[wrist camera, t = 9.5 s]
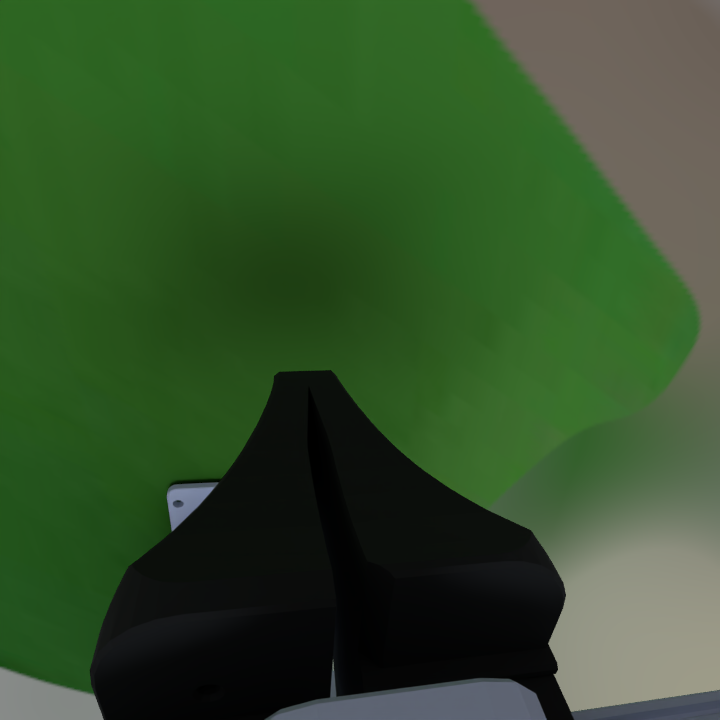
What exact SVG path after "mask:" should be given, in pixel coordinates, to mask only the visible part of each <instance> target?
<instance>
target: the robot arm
mask: <svg viewBox="0 0 720 720" xmlns="http://www.w3.org/2000/svg"><path fill="white" fill-rule="evenodd" d="M176 500H181V501H182V502H177V501H176ZM167 501H168V508H169V515H170V522H171V529H172V532H171V533H170V534H169V535H168V536H166V537H165V538H164V539H163V540H162V541H161V542H159V543H158V544H157V545H156V546H154V547H153V548H152V549H151V550H149V551H148V552H147V553H146V554H144V555H143V556H142V557H141V558H139V559H138V560H137V561H135V562H134V563H133V564H131V565H130V566H129V567H128V569H127V571H126V572H125V574H124V576H123V578H122V580H121V582H120V584H119V586H118V588H117V590H116V593H115V595H114V597H113V599H112V602H111V604H110V606H109V609H108V611H107V614H106V616H105V619H104V621H103V624H102V627H101V630H100V634H99V638H98V642H97V645H96V649H95V653H94V657H93V660H92V664H91V668H90V676H91V685H92V688H93V691H94V694H95V697H96V699H97V702H98V705H99V707H100V710H101V713H102V716H103V719H104V720H720V690H717V691H710V692H703V693H696V694H690V695H683V696H676V697H669V698H662V699H655V700H649V701H642V702H635V703H628V704H622V705H615V706H608V707H601V708H594V709H587V710H581V711H574V712H571V711H570V709H569V707H568V705H567V703H566V700H565V698H564V696H563V694H562V692H561V689H560V687H559V685H558V683H557V681H556V678H555V677H554V674H556V672H557V670H558V666H557V662H556V660H555V657H554V655H553V653H552V651H551V649H550V647H549V645H548V642H549V640H550V638H551V635H552V633H553V630H554V628H555V626H556V624H557V621H558V619H559V616H560V614H561V611H562V609H563V606H564V601H565V597H566V594H565V588H564V584H563V581H562V580H561V578H560V576H559V574H558V572H557V570H556V569H555V567H554V565H553V563H552V561H551V560H550V558H549V556H548V555H547V553H546V552H545V550H544V549H543V547H542V546H541V544H540V543H539V542H538V540H537V539H536V537H535V536H534V534H533V532H532V531H531V530H529V529H527V528H525V527H522V526H520V525H518V524H516V523H514V522H512V521H510V520H508V519H505V518H503V517H501V516H499V515H497V514H495V513H492V512H490V511H488V510H486V509H484V508H483V507H481V506H479V505H477V504H476V503H474V502H472V501H470V500H468V499H467V498H465V497H463V496H461V495H460V494H458V493H456V492H455V491H453V490H452V489H450V488H448V487H447V486H445V485H444V484H442V483H441V482H439V481H438V480H437V479H435V478H434V477H432V476H431V475H429V474H428V473H426V472H425V471H424V470H422V469H421V468H420V467H418V466H417V465H416V464H415V463H413V462H412V461H411V460H410V459H409V458H407V457H406V456H405V455H404V454H403V453H401V452H400V451H399V450H398V449H397V448H396V447H395V446H394V445H393V444H392V443H391V442H390V441H389V440H388V439H387V438H386V437H385V436H384V435H383V434H382V433H381V432H380V431H379V430H378V429H377V428H376V427H375V426H374V424H373V423H372V422H371V421H370V420H369V419H368V418H367V416H366V415H365V414H364V413H363V412H362V410H361V409H360V408H359V407H358V406H357V404H356V403H355V402H354V401H353V399H352V398H351V397H350V395H349V394H348V393H347V391H346V390H345V388H344V387H343V385H342V384H341V383H340V381H339V380H338V378H337V376H336V375H335V374H334V373H333V372H332V371H331V370H326V371H292V372H278V373H277V374H276V375H275V376H274V383H273V387H272V391H271V394H270V397H269V399H268V402H267V404H266V407H265V409H264V411H263V413H262V415H261V418H260V420H259V422H258V424H257V426H256V428H255V429H254V431H253V433H252V435H251V436H250V438H249V440H248V442H247V443H246V445H245V447H244V448H243V450H242V451H241V453H240V455H239V456H238V458H237V459H236V460H235V462H234V463H233V465H232V466H231V467H230V469H229V470H228V472H227V473H226V474H225V476H224V477H223V478H222V479H221V480H220V482H214V483H194V484H176V485H173V486H171V487H170V488H169V489H168V492H167ZM333 662H334V671H333V669H332V664H333Z"/></svg>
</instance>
